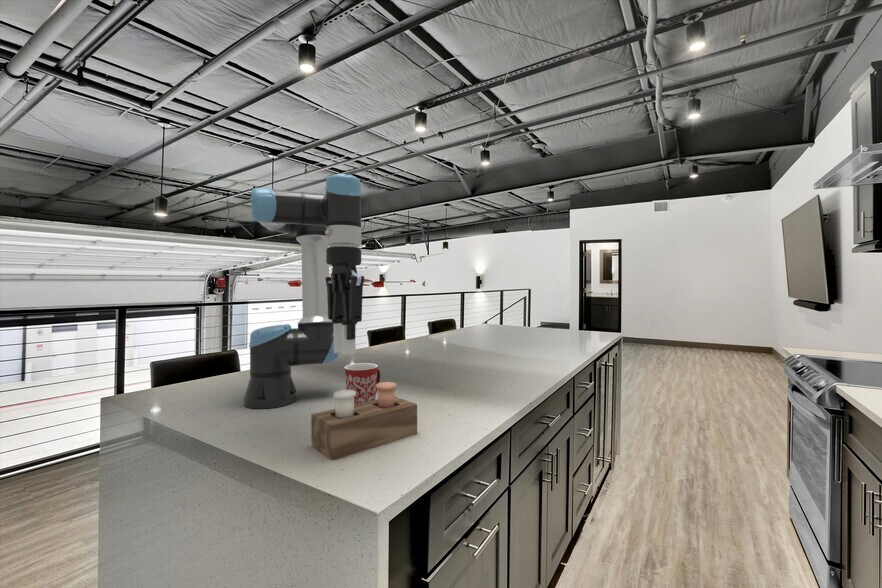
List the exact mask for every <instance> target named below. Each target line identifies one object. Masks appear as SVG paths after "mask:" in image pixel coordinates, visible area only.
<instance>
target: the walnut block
mask: <svg viewBox="0 0 882 588" xmlns="http://www.w3.org/2000/svg"><path fill="white" fill-rule="evenodd" d="M310 416H311V417H310V419H311V421H310V422H311V423H310V424H311V427H310V429H311V432H310V433H311V435H310V437H311V438H310V439H311V441H310V442H311V447H312V448H314V449H316V450H317V451H318V452H320V453H322V454H323V455H324V456H325V457H326V458H328V459H330V460H331V461H333V460H338V459H340V458H343V457H346V456H350V455H353V454H356V453H359V452H363V451H366V450H369V449H372V448H376V447H378V446H380V445H385V444H389V443H391V442H394V441H398V440H401V439H403V438H406V437H410V436H413V435H416V434H418V404H417V403H415V402H411V401H409V400H406V399H403V398H401V397H398V396H395V406H393V407H389V408H385V409H383V408H380V407H378V398H376V399H375V400H373V401H368V402H364V403H359V404H355V405H354V416H352V417H348V418H344V419H338V418H336V417H335V408H333V409H329V410H324V411H319V412H314V413H312V414H310Z"/></svg>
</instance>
